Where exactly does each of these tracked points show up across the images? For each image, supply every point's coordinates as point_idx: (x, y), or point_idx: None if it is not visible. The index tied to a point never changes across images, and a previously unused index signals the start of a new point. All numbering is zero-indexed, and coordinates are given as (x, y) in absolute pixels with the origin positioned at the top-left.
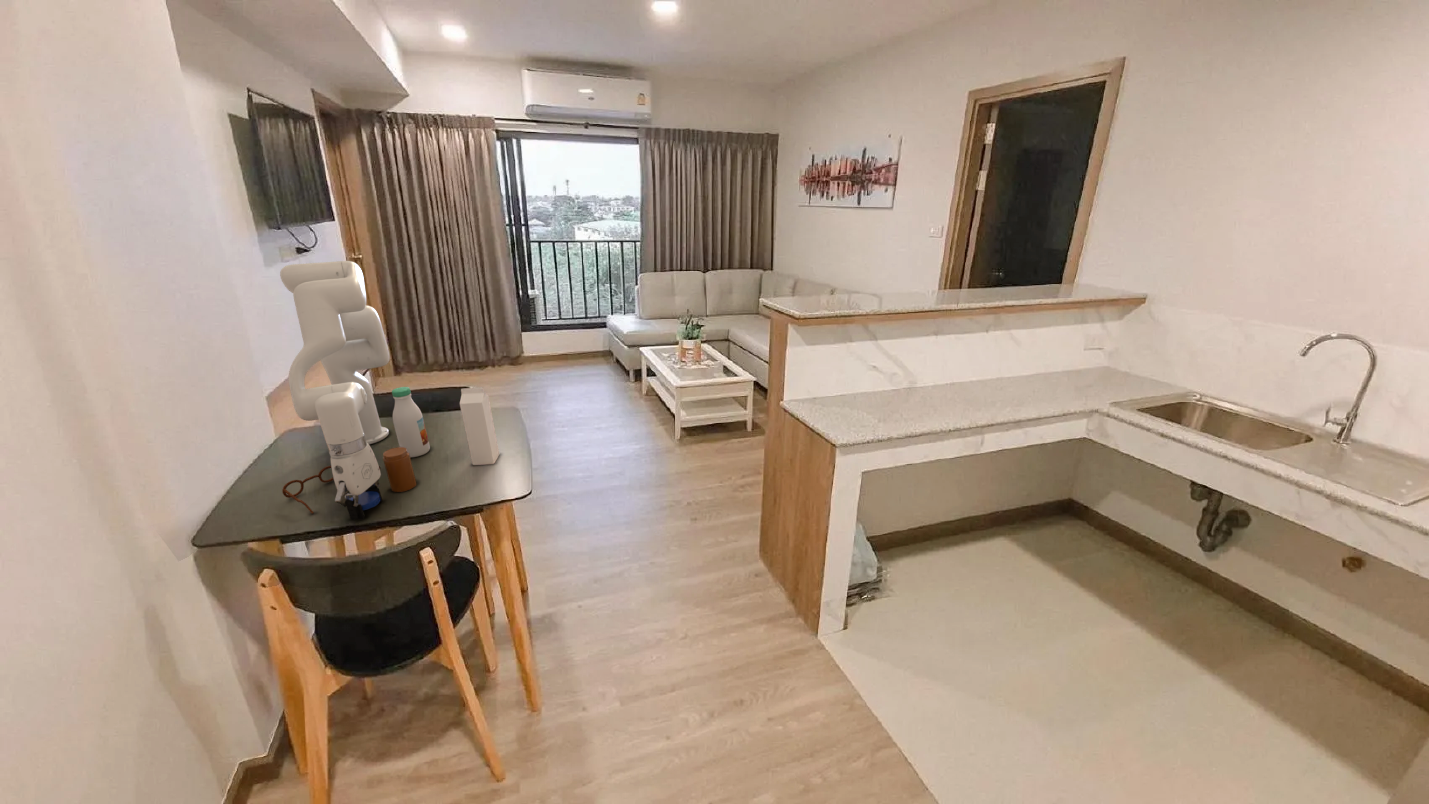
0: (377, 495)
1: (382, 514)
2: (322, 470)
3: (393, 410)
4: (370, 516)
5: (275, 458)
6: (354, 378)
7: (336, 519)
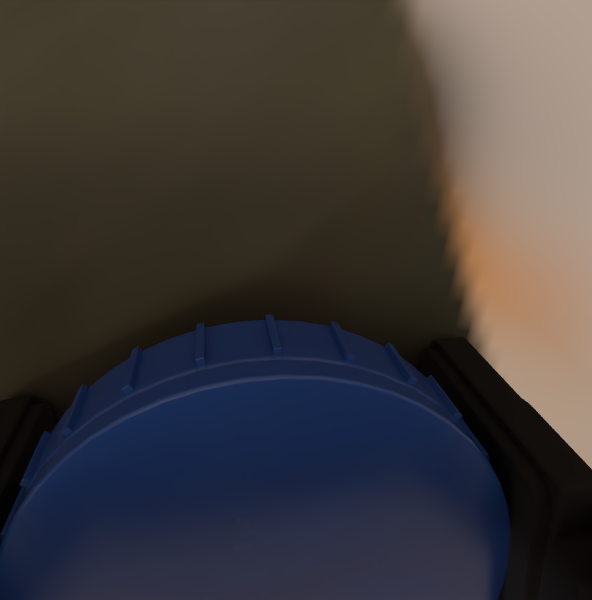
0: (121, 448)
1: (332, 158)
2: None
3: None
4: (385, 298)
5: None
6: None
7: None
